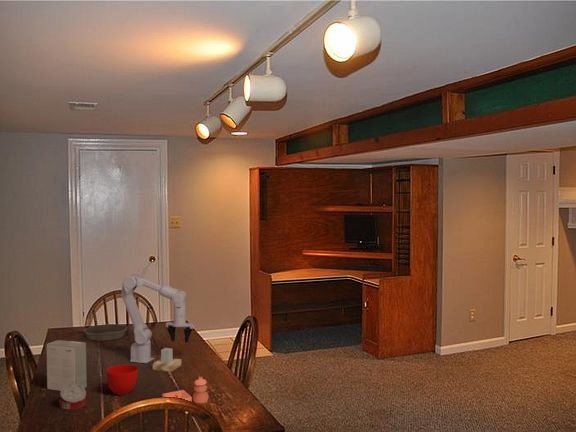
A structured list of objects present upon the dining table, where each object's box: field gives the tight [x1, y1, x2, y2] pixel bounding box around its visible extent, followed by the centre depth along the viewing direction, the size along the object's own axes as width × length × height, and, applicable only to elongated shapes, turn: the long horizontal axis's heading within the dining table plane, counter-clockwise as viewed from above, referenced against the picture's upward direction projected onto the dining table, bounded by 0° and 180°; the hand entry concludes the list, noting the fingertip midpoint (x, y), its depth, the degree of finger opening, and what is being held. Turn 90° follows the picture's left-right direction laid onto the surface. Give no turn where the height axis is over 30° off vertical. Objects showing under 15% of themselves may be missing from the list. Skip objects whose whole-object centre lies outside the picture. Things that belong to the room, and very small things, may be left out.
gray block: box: [160, 347, 174, 363], centre depth 270 cm, size 4×4×6 cm
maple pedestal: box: [152, 358, 182, 372], centre depth 271 cm, size 10×10×3 cm
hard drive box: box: [45, 339, 88, 392], centre depth 241 cm, size 16×8×20 cm, turn 71°
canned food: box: [59, 381, 87, 411], centre depth 223 cm, size 11×10×10 cm
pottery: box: [161, 376, 209, 404], centre depth 225 cm, size 18×10×10 cm, turn 121°
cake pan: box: [83, 323, 128, 341], centre depth 330 cm, size 25×25×4 cm
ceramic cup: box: [105, 364, 139, 396], centre depth 238 cm, size 13×17×10 cm
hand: (179, 341), depth 281 cm, fingers open, 7 cm apart
